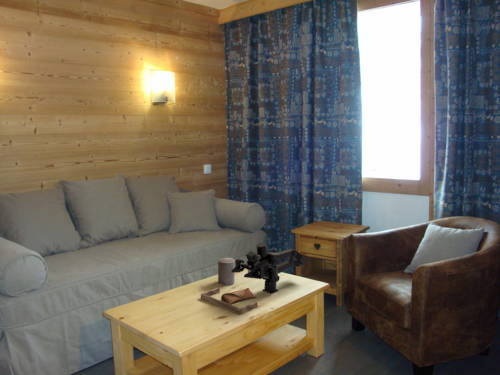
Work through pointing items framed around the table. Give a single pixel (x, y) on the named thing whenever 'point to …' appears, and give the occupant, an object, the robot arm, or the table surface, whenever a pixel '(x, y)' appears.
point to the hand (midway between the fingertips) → (237, 273)
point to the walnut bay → (225, 305)
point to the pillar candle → (226, 271)
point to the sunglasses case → (237, 296)
